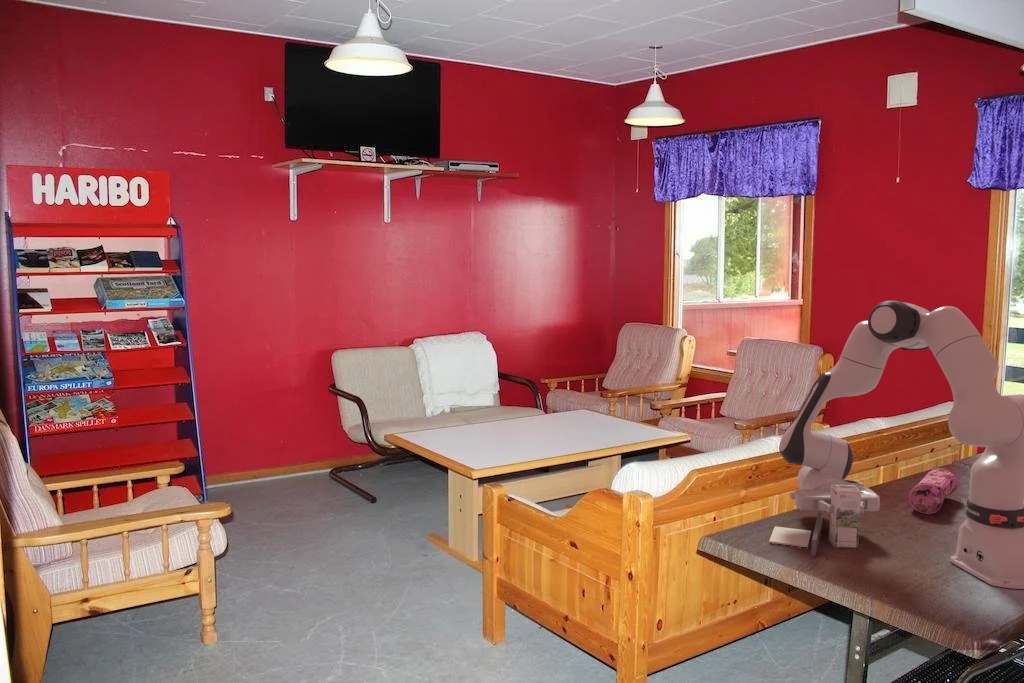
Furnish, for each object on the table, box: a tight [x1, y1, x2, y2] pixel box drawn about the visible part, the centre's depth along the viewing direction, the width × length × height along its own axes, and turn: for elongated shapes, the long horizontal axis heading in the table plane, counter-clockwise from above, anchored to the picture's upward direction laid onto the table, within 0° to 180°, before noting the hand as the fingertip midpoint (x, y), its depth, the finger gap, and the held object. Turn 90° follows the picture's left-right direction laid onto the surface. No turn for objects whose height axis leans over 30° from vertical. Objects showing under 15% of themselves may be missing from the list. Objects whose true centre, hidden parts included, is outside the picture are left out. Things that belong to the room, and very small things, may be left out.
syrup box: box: [828, 485, 861, 549], centre depth 211 cm, size 6×6×14 cm
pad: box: [768, 525, 812, 549], centre depth 217 cm, size 9×12×1 cm
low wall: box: [810, 512, 823, 557], centre depth 214 cm, size 1×22×4 cm, turn 157°
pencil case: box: [908, 467, 959, 515], centre depth 243 cm, size 21×9×9 cm, turn 144°
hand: (845, 510), depth 210 cm, fingers closed on syrup box, 6 cm apart
